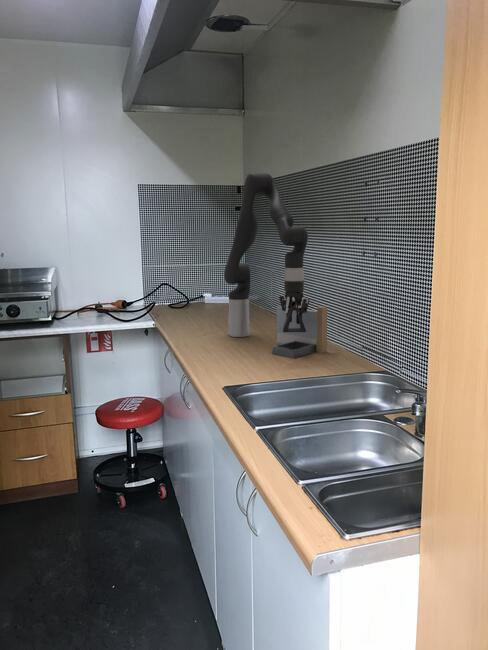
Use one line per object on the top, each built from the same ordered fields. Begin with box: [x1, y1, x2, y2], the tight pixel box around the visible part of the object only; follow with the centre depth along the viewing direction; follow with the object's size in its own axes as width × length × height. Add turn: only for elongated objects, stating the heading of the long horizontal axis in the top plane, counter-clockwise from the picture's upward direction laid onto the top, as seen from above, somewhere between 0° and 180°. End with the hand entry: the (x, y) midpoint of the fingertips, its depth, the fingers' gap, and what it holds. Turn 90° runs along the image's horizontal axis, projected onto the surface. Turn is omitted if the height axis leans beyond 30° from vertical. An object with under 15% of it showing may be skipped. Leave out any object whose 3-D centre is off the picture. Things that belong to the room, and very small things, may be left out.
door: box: [276, 305, 328, 354], centre depth 217 cm, size 24×3×18 cm, turn 45°
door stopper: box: [283, 301, 306, 332], centre depth 207 cm, size 9×6×12 cm, turn 87°
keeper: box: [271, 341, 317, 359], centre depth 210 cm, size 11×14×3 cm
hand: (294, 322), depth 208 cm, fingers closed on door stopper, 4 cm apart
